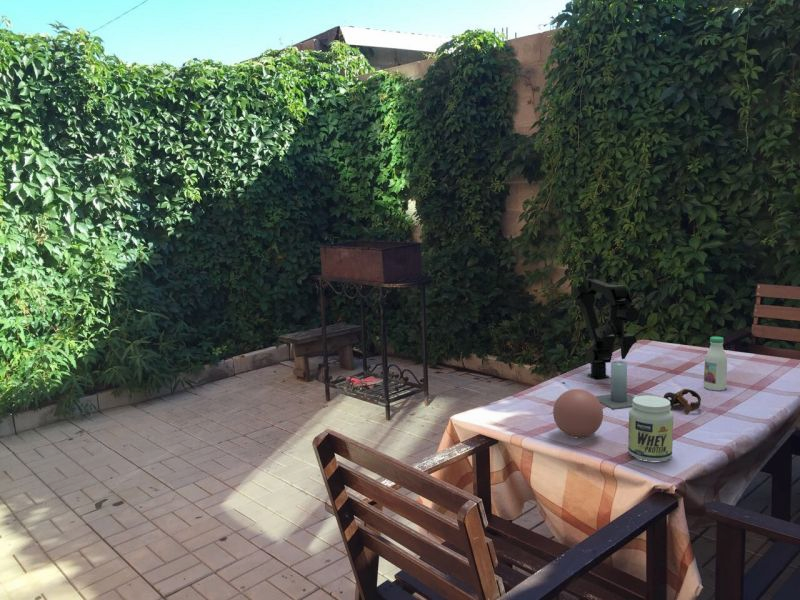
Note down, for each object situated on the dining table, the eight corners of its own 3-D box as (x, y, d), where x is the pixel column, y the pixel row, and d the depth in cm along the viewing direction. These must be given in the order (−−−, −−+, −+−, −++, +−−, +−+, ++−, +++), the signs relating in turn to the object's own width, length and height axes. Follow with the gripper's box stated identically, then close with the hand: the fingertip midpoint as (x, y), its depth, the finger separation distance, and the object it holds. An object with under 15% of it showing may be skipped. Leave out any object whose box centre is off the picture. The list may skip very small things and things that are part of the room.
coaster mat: (591, 397, 242) (591, 396, 242) (624, 393, 245) (624, 392, 245) (612, 409, 228) (612, 408, 228) (646, 404, 232) (646, 403, 232)
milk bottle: (721, 384, 250) (723, 335, 247) (729, 391, 243) (731, 339, 239) (700, 385, 251) (702, 335, 248) (708, 391, 244) (710, 340, 240)
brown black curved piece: (692, 405, 231) (701, 389, 226) (695, 424, 224) (705, 409, 219) (658, 396, 232) (667, 381, 227) (660, 415, 225) (669, 400, 220)
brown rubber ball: (615, 428, 211) (615, 383, 208) (591, 449, 195) (592, 401, 193) (570, 420, 220) (570, 377, 218) (545, 439, 205) (544, 393, 202)
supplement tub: (631, 463, 185) (632, 407, 182) (625, 446, 196) (626, 393, 194) (676, 465, 182) (678, 408, 179) (667, 448, 194) (669, 394, 191)
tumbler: (612, 396, 241) (612, 360, 238) (627, 398, 238) (628, 361, 236) (609, 401, 236) (609, 364, 234) (625, 403, 233) (625, 365, 231)
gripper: (585, 315, 258) (585, 352, 260) (612, 324, 240) (611, 364, 243) (610, 312, 260) (610, 350, 263) (638, 321, 243) (637, 361, 245)
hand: (616, 356), depth 253 cm, fingers open, 9 cm apart
